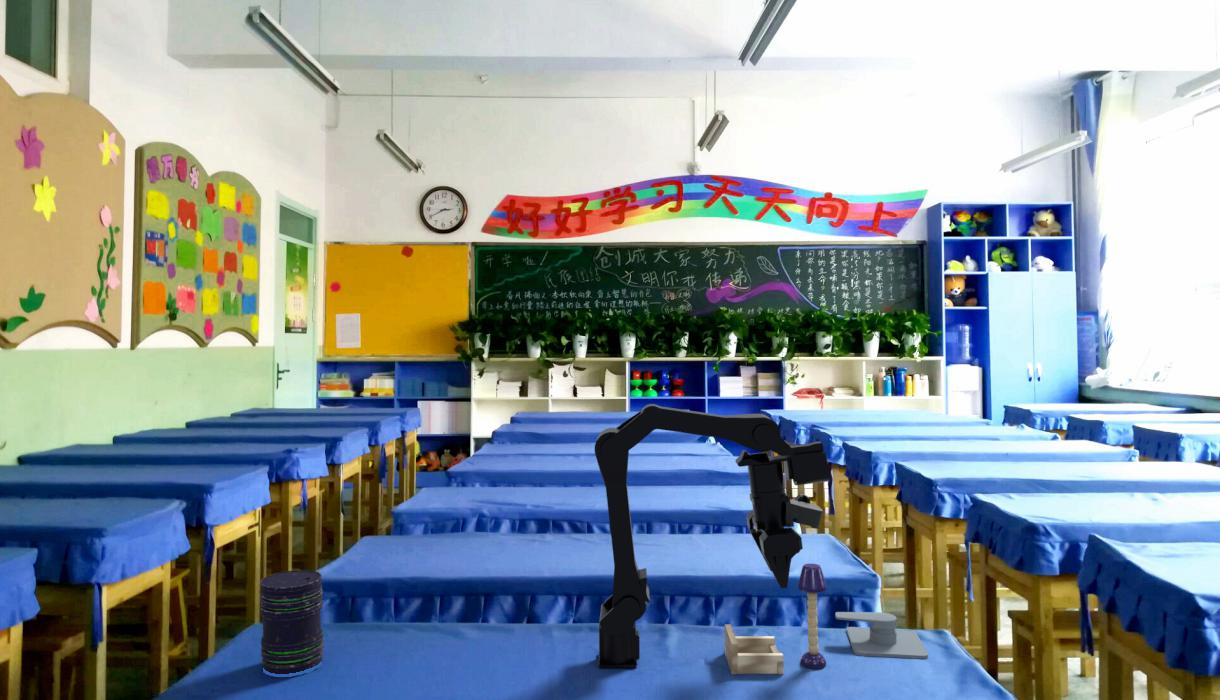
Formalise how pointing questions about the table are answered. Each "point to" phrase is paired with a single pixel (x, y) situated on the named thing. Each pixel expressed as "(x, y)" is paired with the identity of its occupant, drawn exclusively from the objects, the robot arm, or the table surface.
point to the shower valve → (882, 636)
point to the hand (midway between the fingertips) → (778, 579)
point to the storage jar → (291, 621)
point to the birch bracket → (752, 654)
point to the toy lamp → (812, 612)
